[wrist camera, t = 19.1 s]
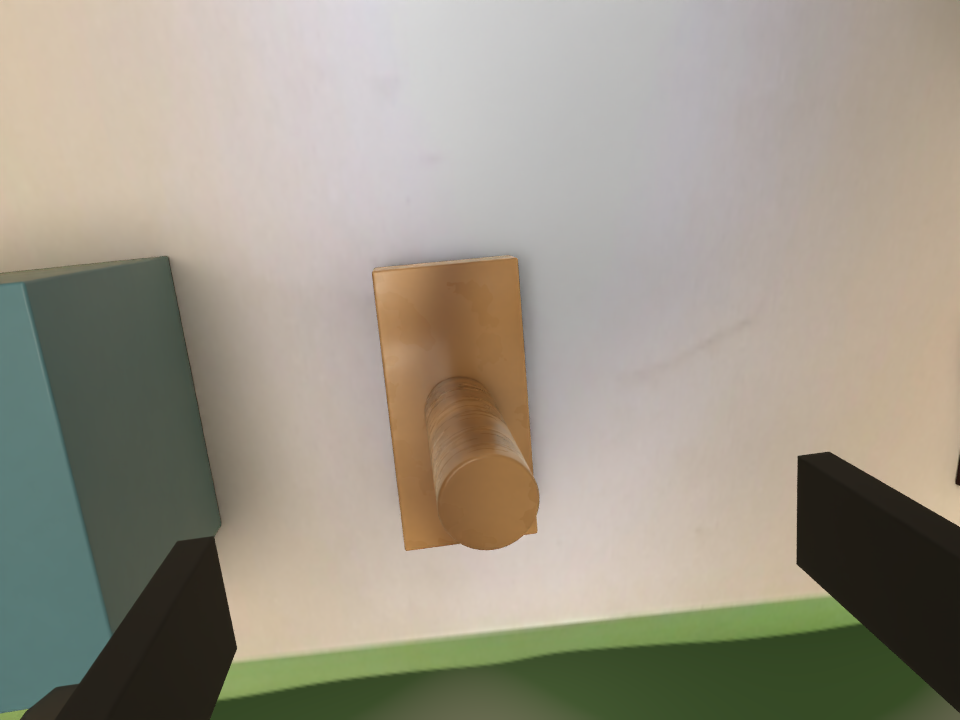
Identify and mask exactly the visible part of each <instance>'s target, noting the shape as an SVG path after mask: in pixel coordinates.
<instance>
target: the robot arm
mask: <svg viewBox="0 0 960 720" xmlns="http://www.w3.org/2000/svg"><path fill="white" fill-rule="evenodd" d="M797 565H798V566H799V567H800V568H801V569H803V570H804V571H805V572H806V573H807V574H808V575H809V576H810V577H811V578H812V579H814V580H815V581H816V582H817V583H818V584H819V585H820V586H821V587H822V588H823V589H824V590H826V591H827V592H828V593H829V594H830V595H831V596H832V597H833V598H834V599H835V600H837V601H838V602H839V603H840V604H841V605H842V606H843V607H844V608H845V609H846V610H847V611H849V612H850V613H851V614H852V615H853V616H854V617H855V618H856V619H857V620H858V621H860V622H861V623H862V624H863V625H864V626H865V627H866V628H867V629H868V630H869V631H870V632H872V633H873V634H874V635H875V636H876V637H877V638H878V639H879V640H880V641H881V642H883V643H884V644H885V645H886V646H887V647H888V648H889V649H890V650H891V651H892V652H894V653H895V654H896V655H897V656H898V657H899V658H900V659H901V660H902V661H903V662H905V663H906V664H907V665H908V666H909V667H910V668H911V669H912V670H913V671H914V672H916V674H918V675H919V676H920V677H921V678H922V679H923V680H924V681H925V682H926V683H928V684H929V685H930V686H931V687H932V688H933V689H934V690H935V691H936V692H937V693H938V694H940V695H941V696H942V697H943V698H944V699H945V700H946V701H947V702H948V703H950V705H952V706H953V707H954V708H955V709H956V710H957V711H958V712H959V713H960V527H959V526H957V525H956V524H954V523H952V522H950V521H949V520H947V519H945V518H943V517H942V516H940V515H938V514H936V513H935V512H933V511H931V510H930V509H928V508H926V507H924V506H923V505H921V504H919V503H917V502H916V501H914V500H912V499H910V498H909V497H907V496H905V495H904V494H902V493H900V492H898V491H897V490H895V489H893V488H891V487H890V486H888V485H886V484H884V483H883V482H881V481H879V480H878V479H876V478H874V477H872V476H871V475H869V474H867V473H865V472H864V471H862V470H860V469H858V468H857V467H855V466H853V465H852V464H850V463H848V462H846V461H845V460H843V459H841V458H839V457H838V456H836V455H834V454H832V453H831V452H823V453H816V454H809V455H801V456H798V474H797ZM236 650H237V646H236V641H235V636H234V631H233V626H232V621H231V617H230V612H229V607H228V602H227V597H226V592H225V587H224V583H223V578H222V573H221V568H220V563H219V558H218V554H217V549H216V544H215V539H214V536H211V537H203V538H196V539H189V540H181V541H177V542H176V544H175V545H174V546H173V548H172V549H171V551H170V552H169V554H168V555H167V557H166V558H165V560H164V561H163V562H162V564H161V565H160V567H159V568H158V570H157V571H156V573H155V574H154V576H153V577H152V578H151V580H150V581H149V583H148V584H147V586H146V587H145V589H144V590H143V592H142V593H141V594H140V596H139V597H138V599H137V600H136V602H135V603H134V605H133V606H132V608H131V609H130V610H129V612H128V613H127V615H126V616H125V618H124V619H123V621H122V622H121V624H120V625H119V626H118V628H117V629H116V631H115V632H114V634H113V635H112V637H111V638H110V640H109V641H108V642H107V644H106V645H105V647H104V648H103V650H102V651H101V653H100V654H99V656H98V657H97V658H96V660H95V661H94V663H93V664H92V666H91V667H90V669H89V670H88V672H87V673H86V674H85V676H84V677H83V679H82V680H81V682H80V683H79V684H73V685H66V686H60V687H55V688H54V689H53V690H52V691H51V692H49V693H48V694H47V695H46V696H44V697H43V698H42V699H41V700H40V701H38V702H37V703H36V704H35V705H33V706H32V707H31V708H30V709H28V710H27V711H26V712H25V714H24V715H23V716H22V718H21V719H20V720H210V718H211V715H212V712H213V710H214V707H215V704H216V702H217V699H218V697H219V694H220V691H221V689H222V686H223V684H224V681H225V678H226V676H227V673H228V671H229V668H230V665H231V663H232V660H233V658H234V655H235V652H236Z"/></svg>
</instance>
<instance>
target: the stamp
mask: <svg viewBox="0 0 960 720" xmlns="http://www.w3.org/2000/svg"><path fill="white" fill-rule="evenodd" d="M372 278H373V287H374V295H375V303H376V312H377V320H378V328H379V337H380V345H381V353H382V362H383V370H384V378H385V387H386V395H387V403H388V412H389V420H390V428H391V437H392V445H393V453H394V462H395V470H396V478H397V487H398V495H399V503H400V512H401V520H402V528H403V537H404V545H405V550H406V551H409V550H417V549H424V548H431V547H439V546H446V545H453V544H462V545H465V546H467V547H470V548H473V549H478V550H494V549H499V548H502V547H505V546H508V545H510V544H512V543H514V542H515V541H517V540H518V539H519V538H521V537H522V536H523V535H527V534H534V533H537V518H536V515H537V512H538V508H539V490H538V486H537V483H536V481H535V479H534V476H533V463H532V449H531V435H530V421H529V407H528V393H527V379H526V366H525V352H524V338H523V324H522V310H521V296H520V283H519V269H518V259H517V258H516V257H513V256H510V255H504V256H493V257H483V258H472V259H462V260H451V261H440V262H430V263H419V264H409V265H398V266H388V267H377V268H374V269H373V272H372Z"/></svg>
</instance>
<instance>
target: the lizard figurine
mask: <svg viewBox="0 0 960 720" xmlns="http://www.w3.org/2000/svg"><path fill="white" fill-rule="evenodd" d="M956 484H957V485H959V486H960V461H959V467H958V473H957V479H956Z"/></svg>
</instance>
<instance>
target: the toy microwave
mask: <svg viewBox="0 0 960 720" xmlns="http://www.w3.org/2000/svg"><path fill="white" fill-rule="evenodd" d="M220 526H221V521H220V516H219V511H218V506H217V501H216V496H215V491H214V486H213V481H212V476H211V471H210V465H209V460H208V455H207V450H206V445H205V440H204V435H203V430H202V425H201V420H200V415H199V410H198V405H197V400H196V395H195V390H194V385H193V380H192V375H191V370H190V365H189V360H188V355H187V350H186V345H185V340H184V335H183V330H182V325H181V320H180V315H179V310H178V305H177V300H176V295H175V290H174V285H173V280H172V275H171V270H170V265H169V260H168V257H167V256H160V257H151V258H141V259H132V260H122V261H112V262H103V263H93V264H83V265H74V266H64V267H55V268H45V269H35V270H26V271H16V272H7V273H0V713H5V712H12V711H18V710H24V709H30V708H31V707H32V706H33V705H35V704H36V703H37V702H38V701H40V700H41V699H42V698H43V697H44V696H46V695H47V694H48V693H49V692H51V691H52V690H53V689H54V688H55V687H60V686H66V685H73V684H79V683H80V682H81V680H82V679H83V677H84V676H85V674H86V673H87V672H88V670H89V669H90V667H91V666H92V664H93V663H94V661H95V660H96V658H97V657H98V656H99V654H100V653H101V651H102V650H103V648H104V647H105V645H106V644H107V642H108V641H109V640H110V638H111V637H112V635H113V634H114V632H115V631H116V629H117V628H118V626H119V625H120V624H121V622H122V621H123V619H124V618H125V616H126V615H127V613H128V612H129V610H130V609H131V608H132V606H133V605H134V603H135V602H136V600H137V599H138V597H139V596H140V594H141V593H142V592H143V590H144V589H145V587H146V586H147V584H148V583H149V581H150V580H151V578H152V577H153V576H154V574H155V573H156V571H157V570H158V568H159V567H160V565H161V564H162V562H163V561H164V560H165V558H166V557H167V555H168V554H169V552H170V551H171V549H172V548H173V546H174V545H175V544H176V542H177V541H181V540H189V539H196V538H203V537H211V536H214V537H215V535H216V533H217V531H218V530H219V528H220Z"/></svg>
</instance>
